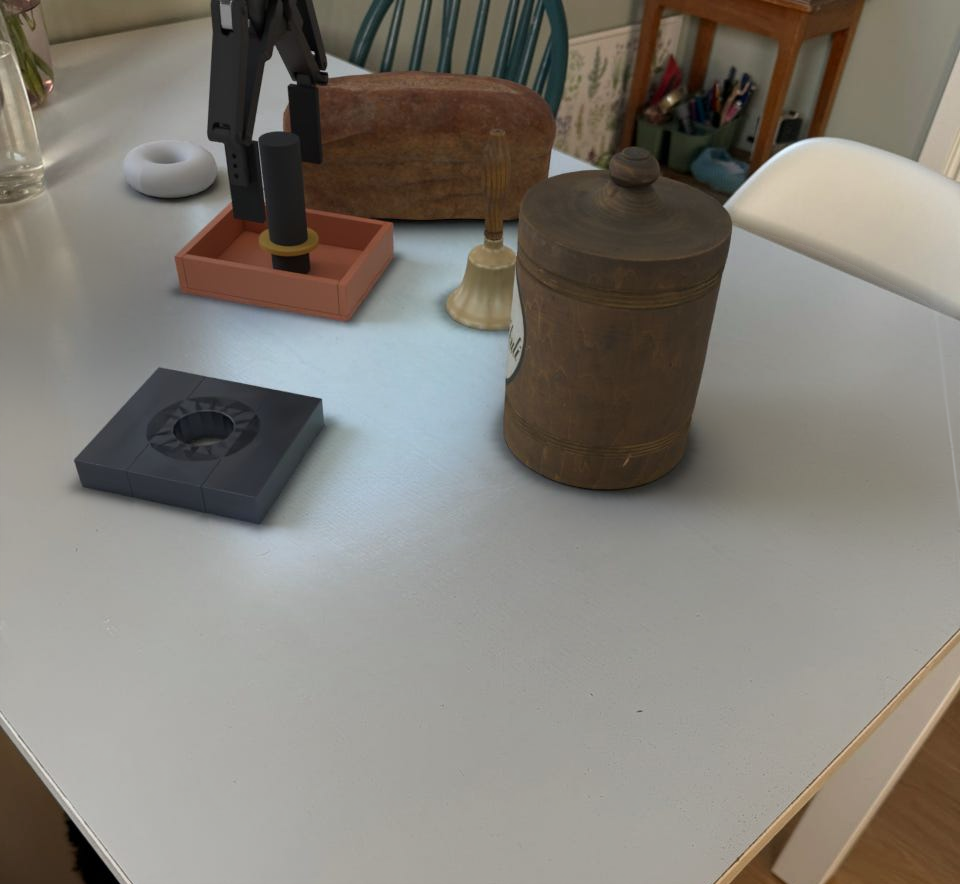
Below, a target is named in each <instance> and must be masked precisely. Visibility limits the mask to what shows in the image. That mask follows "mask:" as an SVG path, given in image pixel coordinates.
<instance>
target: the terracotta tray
mask: <svg viewBox="0 0 960 884" xmlns="http://www.w3.org/2000/svg"><path fill="white" fill-rule="evenodd" d="M305 209H306V208H305ZM265 211H266V203H265ZM306 220H307V228H310V229H312V230H313V231H315V232H316V233H317V235H318V237H319V244H318V246H317V248H316V249H314V250H313V251H311V252H309V256H310V271H309V272H308V273H307V274H299V273H293V272H287V271H282V270H276V269H273V265H272V256H271V254H270V253H268V252H266V251H264V250H263V249H262V248H261V247H260V245H259V236H260V234H261V233H262V232H263V231H265V230H267V229H268V221H267V212H266V221H265V222H264V223H258V222H252V221H246V220H240V219H235V218H234V216H233V208H232V201H231V202H230V203H228V204H227V205H226V206H225V207H224V208H223V209H222V210H221V211H220V212H219V213H218V214H217V215H216V216H214V218H213V219H212V220H210V221H209V222H208V223H207V224H206V225H205V226H204V227H203V228H202V229H201V230H200V231H199V232H198V233H197V234H196V235H195V236H194V237H193V238H192V239H190V241H188V242H187V243H186V244H185V245H184V246H183V247H182V248H181V249H180V250H179V251H178V252H177V253H176V254H175V255H173V256H174V263H175V267H176V273H177V278H178V283H179V287H180V288H179V289H180V292H181V293H183V294H188V295H189V294H190V295H194V296H199V297H205V298H206V297H207V298H212V299H216V300H217V299H218V300H221V301H228V302H234V303H239V304H245V305H249V306H256V307H261V308H266V309H273V310H278V311H282V312H283V311H284V312H289V313H294V314H299V315H305V316H306V315H307V316H310V317H311V316H312V317H317V318H321V319H328V320H334V321H340V322H344V323H349V321H350V320H352V319H351V318H352V317H353V316H354V315H355V313H356V311H357V310H358V309H359V307H360V306H361V305H362V303H363V302H364V300H365V299H366V298H367V296H369V295H368V294H369V293H370V292H371V290H372V289H373V287H374V286H375V285H376V283H377V282H378V280H379V279H380V278H381V276H382V275H383V274H384V272H385V271H386V269H387V268H388V266H389V265H390V264H391V262H392V261H393V260H394V258H395V251H394V250H395V247H394V242H395V241H394V222H391V221H385V220H379V219H374V218H361V217H355V216H349V215H343V214H337V213H330V212H324V211H318V210H312V209H306Z"/></svg>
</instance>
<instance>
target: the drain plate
mask: <svg viewBox="0 0 960 884" xmlns="http://www.w3.org/2000/svg"><path fill="white" fill-rule="evenodd" d="M324 426H325V417H324V403H323V398H322V397H316V396H311V395H306V394H300V393H294V392H290V391H284V390H279V389H274V388H269V387H265V386H260V385H254V384H250V383H249V384H248V383H242V382H239V381H234V380H233V381H232V380H229V379H228V380H227V379H222V378H217V377H213V376H207V375H203V374H196V373H192V372H186V371H181V370H176V369H171V368H166V367H160V366H159V367H158V368H157V369H156V370H154V372H153V373H152V374H151V375H150V376H149V377H148V378H147V380H145V381H144V383H143V384H141V386H140V387H139V388H138V389H137V390H136V391H135V392H134V394H132V396H131V397H130V398H129V399H128V400H127V401H126V402H125V403H124V404H123V405H122V407H121V408H120V409H119V410H118V411H117V412H116V413H115V414H114V415H113V417H111V418H110V419H109V421H108V422H107V423H106V424H105V425H104V426H103V427H102V428H101V430H100V431H99V432H98V433H97V434H96V435H95V436H94V437H93V438H92V439H91V441H89V443H87V445H86V446H85V447H84V448H83V449H82V450H81V451H80V452H79V453H78V454H77V456H76V457H75V458H73V463H74V465H75V469H76V472H77V475H78V478H79V481H80V484H81V487H82V488H86V489H91V490H96V491H100V492H105V493H110V494H114V495H119V496H124V497H127V498H133V499H137V500H142V501H148V502H152V503H155V504H156V503H158V504H161V505H166V506H171V507H175V508H181V509H185V510H189V511H194V512H198V513H203V514H208V515H213V516H218V517H223V518H227V519H231V520H237V521H242V522H245V523H246V522H247V523H251V524H256V525H260V524H261V523H262V522H263V520H264V518H265V517H266V515H267V514H268V512H269V511H270V509H271V508H272V506H273V505H274V503H275V501H276V500H277V498H278V497H279V495H280V494H281V492H282V490H284V487H286V485H287V483H288V482H289V480H290V479H291V477H292V475H293V474H294V472H295V471H296V469H297V467H299V465H300V463H301V461H302V460H303V458H304V457H305V455H306V454H307V452H308V450H309V449H310V448H311V447H312V444H313V443H314V441H315V440H316V438H317V437H318V436H319V434H320V432H321V431H322V429H323V428H324ZM204 438H218V439H219V438H220V439H222V440H221V441H219V442H215V443H210V444H200V445H198V444H197V445H194V444H190V443H192V442H193V441H196V440H197V441H198V440H201V439H204Z"/></svg>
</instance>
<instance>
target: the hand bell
mask: <svg viewBox="0 0 960 884" xmlns="http://www.w3.org/2000/svg"><path fill="white" fill-rule="evenodd" d="M510 180H511V157H510V152H509V149H508V145H507V141H506V134H505V131H503V130H502V129H493V130H491V131H490V135H489V139H488V142H487V145H486V148H485V151H484V154H483V158H482V163H481V184H482V191H483V195H484V199H485V204H486V217H485V219H484V230H483V236H484V239H483V243H482V244H479V245H476V246H475V247H473V248H471V250H470V251H469V253H468V255H467V263H466V268H465V271H464V275H463V278H462V281H461V282H460V284H459V286H458V287H457V288H455V289H454V290H453V291H452V292H451V293H450V295H449V296H448V298H447V299H446V301H445V310H446V312H447V314H448V316H450V318H451V319H452V320H454V322H457V323H458V324H459V325H461V326H464V327H467V328H469V329H473V330H478V331H484V332H500V331H502V332H503V331H509V329H510V319H511V310H512V299H513V288H514V278H515V267H516V257H517V253H516V252H515V251H514V250H513V249H511V248H510V247H509V246H506V245H504V230H503V229H504V220H503V208H504V203H505V199H506V197H507V194H508V190H509V186H510Z"/></svg>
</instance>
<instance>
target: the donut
mask: <svg viewBox="0 0 960 884" xmlns="http://www.w3.org/2000/svg"><path fill="white" fill-rule="evenodd" d="M122 171H123V176H124V178H125V180H126V182H127V183H128V185H130V186H131V187H132V188H133V189H134V190H136V191H137V192H139V193H142V194H144V195H146V196H150V197H155V198H161V199H175V198H176V199H179V198H185V197H189V196H194V195H196V194H199V193H202V192H203V191H206V190H207V189H209V187H210V186H211V185H212V184H214V182H215V179H216V177H217V174H218V165H217V162H216V160H215V157H214V156H213V154H212V152H210V151H209V150H208V149H207V148H205V147H204V146H202V145H200V144H197V143H195V142H192V141H188V140H182V139H158V140H152V141H148V142H144V143H142V144H140V145H137V146H136V147H134V148H133V149H131V150H129V152H128V153H127V154H126V156H125V158H124V159H123V162H122Z"/></svg>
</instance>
